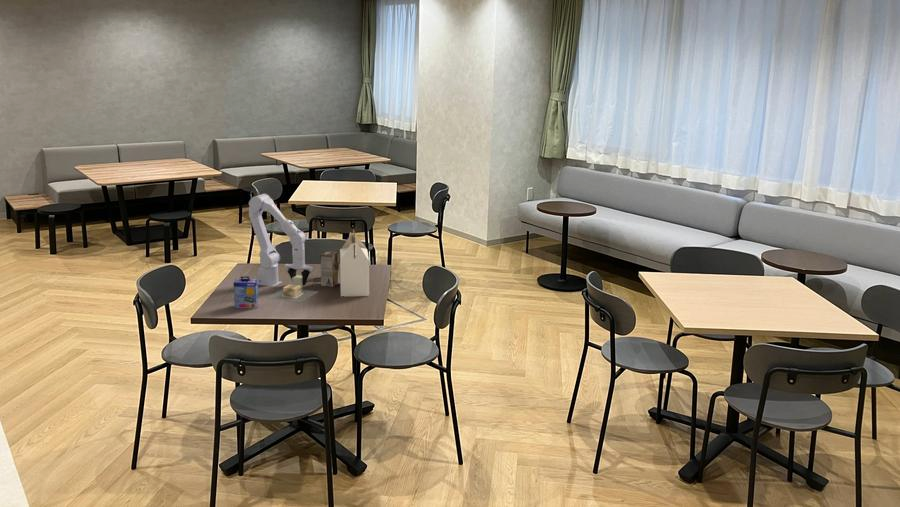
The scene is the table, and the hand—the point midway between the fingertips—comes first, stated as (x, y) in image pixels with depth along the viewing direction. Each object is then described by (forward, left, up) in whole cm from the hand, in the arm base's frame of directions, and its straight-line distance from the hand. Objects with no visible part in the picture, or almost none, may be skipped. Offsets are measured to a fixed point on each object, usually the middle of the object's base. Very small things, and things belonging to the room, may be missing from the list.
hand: (299, 284), depth 360 cm
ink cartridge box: (-7, -35, -2) cm, 36 cm away
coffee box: (+12, +9, -2) cm, 15 cm away
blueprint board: (+4, -14, -1) cm, 15 cm away
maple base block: (+4, -14, -1) cm, 15 cm away
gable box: (+26, +6, -2) cm, 27 cm away
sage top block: (0, 0, -1) cm, 1 cm away
